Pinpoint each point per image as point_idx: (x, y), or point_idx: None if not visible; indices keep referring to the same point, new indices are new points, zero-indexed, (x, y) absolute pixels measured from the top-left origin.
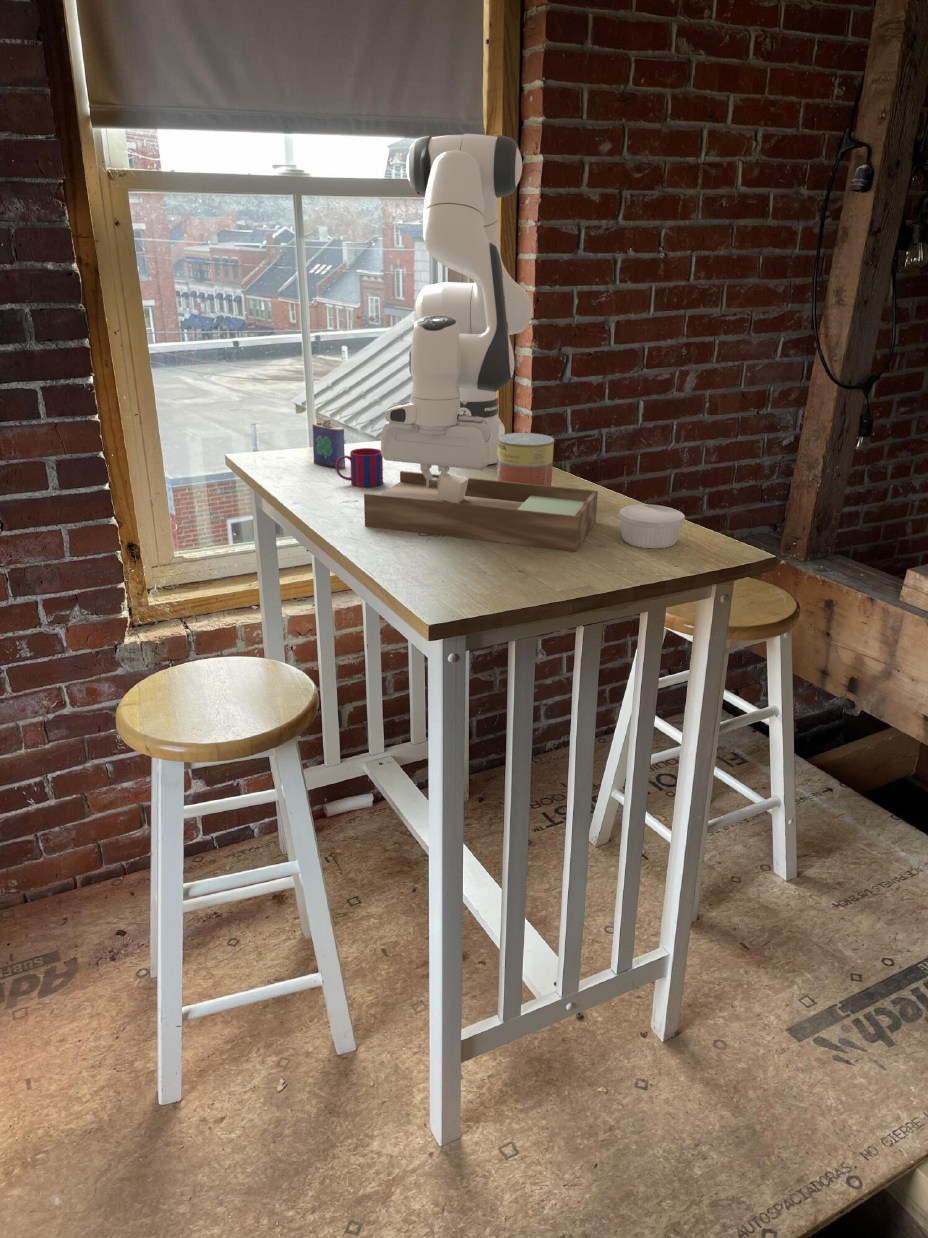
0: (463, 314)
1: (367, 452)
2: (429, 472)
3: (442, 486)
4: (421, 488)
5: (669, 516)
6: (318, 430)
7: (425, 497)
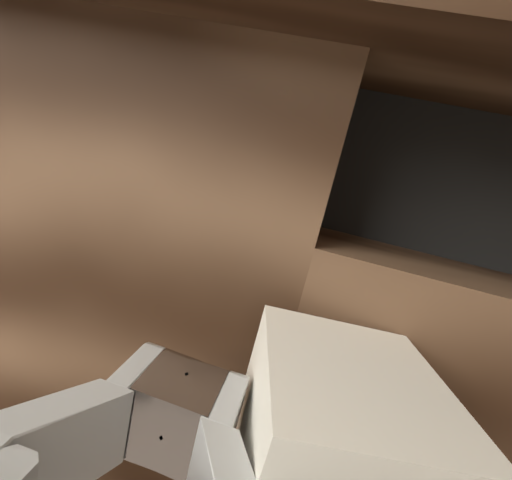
0: None
1: None
2: (72, 442)
3: None
4: (100, 128)
5: None
6: None
7: (165, 325)
